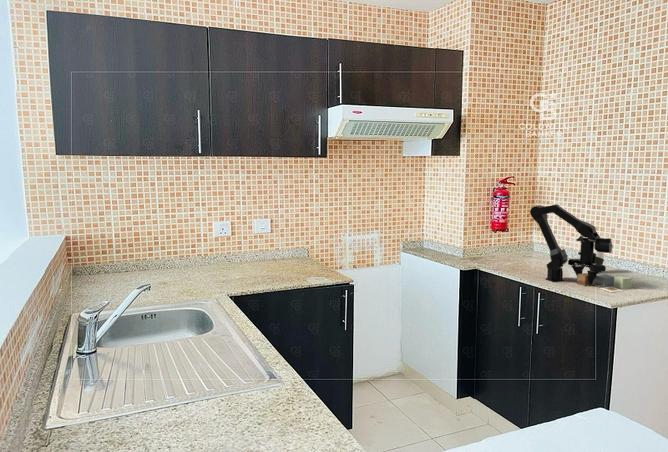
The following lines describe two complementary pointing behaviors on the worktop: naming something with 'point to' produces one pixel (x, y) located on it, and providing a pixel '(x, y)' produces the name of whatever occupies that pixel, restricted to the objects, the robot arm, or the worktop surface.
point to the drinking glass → (599, 254)
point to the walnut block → (584, 280)
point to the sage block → (622, 282)
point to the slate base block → (604, 279)
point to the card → (611, 289)
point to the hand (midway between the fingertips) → (585, 282)
